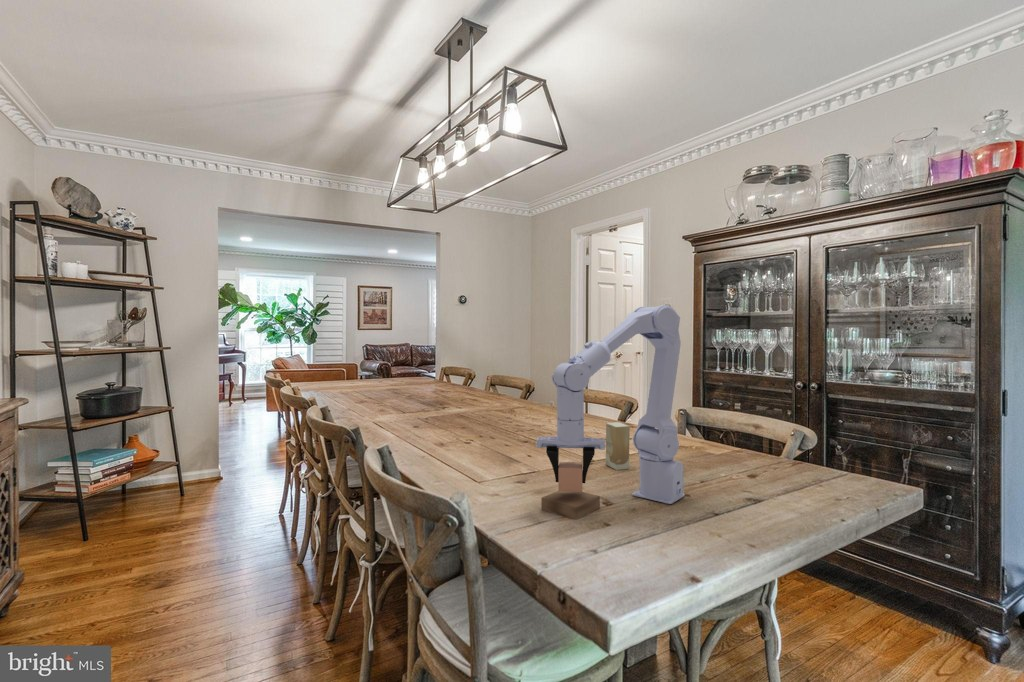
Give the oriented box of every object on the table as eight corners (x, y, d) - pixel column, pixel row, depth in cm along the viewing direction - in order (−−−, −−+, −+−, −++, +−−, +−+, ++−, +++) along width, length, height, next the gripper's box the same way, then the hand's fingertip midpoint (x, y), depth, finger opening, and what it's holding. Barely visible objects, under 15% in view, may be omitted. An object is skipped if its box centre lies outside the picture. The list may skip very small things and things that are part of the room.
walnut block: (599, 509, 107) (599, 496, 107) (576, 521, 100) (576, 507, 100) (565, 500, 113) (565, 487, 113) (541, 511, 106) (541, 497, 106)
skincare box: (605, 464, 142) (605, 422, 141) (618, 463, 143) (618, 421, 143) (616, 470, 135) (616, 426, 135) (630, 469, 137) (630, 425, 137)
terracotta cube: (582, 485, 108) (582, 462, 108) (582, 492, 104) (582, 468, 103) (559, 484, 109) (559, 461, 109) (558, 491, 104) (558, 467, 104)
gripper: (603, 416, 109) (603, 477, 109) (538, 415, 111) (538, 474, 111) (605, 421, 102) (605, 487, 102) (535, 420, 104) (535, 484, 104)
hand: (570, 481), depth 106 cm, fingers closed on terracotta cube, 5 cm apart
